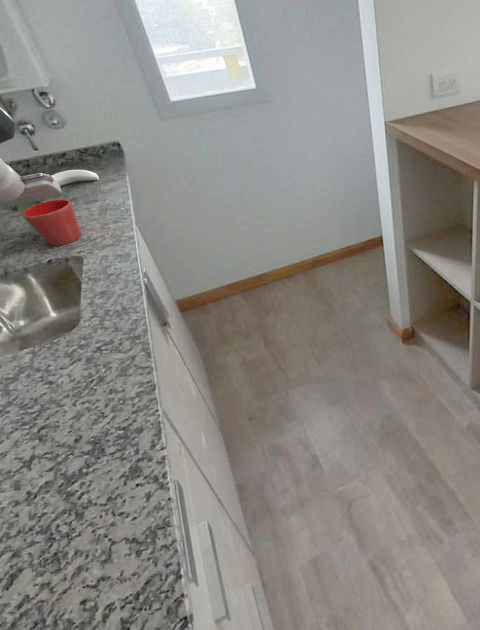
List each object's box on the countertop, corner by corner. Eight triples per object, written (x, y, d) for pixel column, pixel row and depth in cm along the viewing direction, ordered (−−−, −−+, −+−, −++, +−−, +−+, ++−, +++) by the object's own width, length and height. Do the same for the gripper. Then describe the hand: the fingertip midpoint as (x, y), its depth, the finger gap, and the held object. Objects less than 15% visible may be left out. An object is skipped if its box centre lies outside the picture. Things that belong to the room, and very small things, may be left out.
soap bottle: (34, 237, 127) (-1, 187, 118) (35, 231, 131) (2, 182, 122) (54, 232, 129) (22, 182, 120) (55, 226, 133) (24, 177, 123)
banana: (101, 175, 168) (96, 188, 157) (45, 189, 163) (37, 203, 152) (93, 162, 165) (88, 174, 154) (36, 176, 160) (27, 189, 149)
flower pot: (88, 240, 123) (68, 208, 117) (42, 252, 119) (19, 219, 113) (89, 227, 130) (70, 195, 124) (45, 238, 126) (24, 206, 120)
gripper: (43, 162, 117) (66, 186, 129) (-53, 181, 109) (-18, 205, 122) (51, 183, 116) (74, 206, 129) (-44, 204, 109) (-10, 226, 122)
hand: (28, 206), depth 125 cm, fingers closed on soap bottle, 5 cm apart
